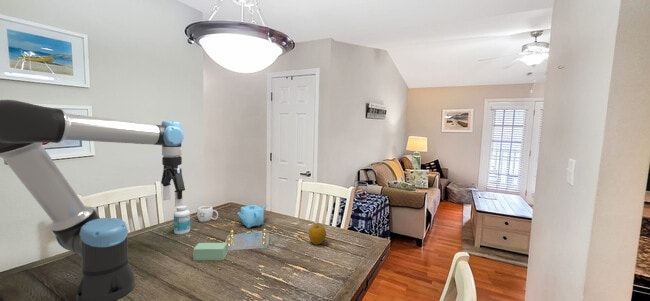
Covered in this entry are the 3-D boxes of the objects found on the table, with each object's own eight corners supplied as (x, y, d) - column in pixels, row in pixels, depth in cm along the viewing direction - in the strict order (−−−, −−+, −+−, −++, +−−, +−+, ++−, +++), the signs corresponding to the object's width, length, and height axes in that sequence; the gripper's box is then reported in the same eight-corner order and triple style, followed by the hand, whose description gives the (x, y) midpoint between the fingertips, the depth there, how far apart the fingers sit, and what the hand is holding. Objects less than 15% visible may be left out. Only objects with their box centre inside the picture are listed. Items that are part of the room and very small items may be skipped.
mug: (194, 222, 151) (193, 209, 151) (201, 217, 160) (201, 204, 159) (214, 223, 151) (214, 210, 150) (221, 218, 159) (221, 205, 158)
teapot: (232, 223, 151) (232, 204, 150) (262, 217, 162) (262, 199, 161) (242, 233, 139) (242, 212, 138) (274, 226, 150) (274, 206, 149)
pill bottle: (173, 231, 139) (172, 205, 138) (189, 228, 143) (188, 203, 142) (174, 236, 133) (174, 209, 132) (191, 233, 137) (190, 207, 136)
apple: (329, 244, 129) (330, 226, 128) (315, 248, 124) (315, 230, 123) (318, 238, 135) (319, 221, 135) (305, 242, 130) (305, 224, 129)
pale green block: (227, 253, 117) (227, 242, 117) (223, 260, 111) (223, 249, 111) (199, 254, 116) (198, 242, 116) (193, 261, 110) (193, 249, 110)
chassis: (269, 235, 137) (269, 227, 136) (268, 247, 123) (268, 238, 123) (228, 237, 133) (228, 228, 132) (222, 250, 119) (222, 240, 119)
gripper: (193, 158, 114) (193, 207, 116) (170, 153, 130) (170, 196, 132) (174, 159, 108) (174, 210, 110) (152, 154, 124) (153, 198, 126)
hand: (172, 202), depth 121 cm, fingers open, 13 cm apart
